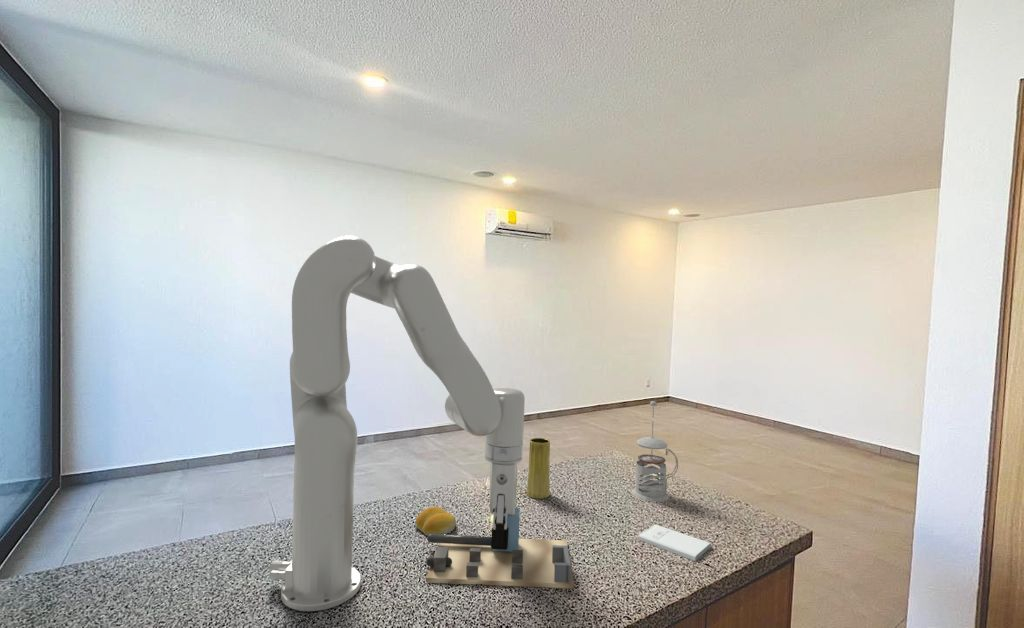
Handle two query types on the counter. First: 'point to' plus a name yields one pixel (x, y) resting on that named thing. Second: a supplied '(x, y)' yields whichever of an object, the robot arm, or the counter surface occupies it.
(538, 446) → the vase
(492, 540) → the robot arm
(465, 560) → the board
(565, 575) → the end holder
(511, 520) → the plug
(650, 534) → the external hard drive
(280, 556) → the counter surface
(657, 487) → the french press
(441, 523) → the bread roll
